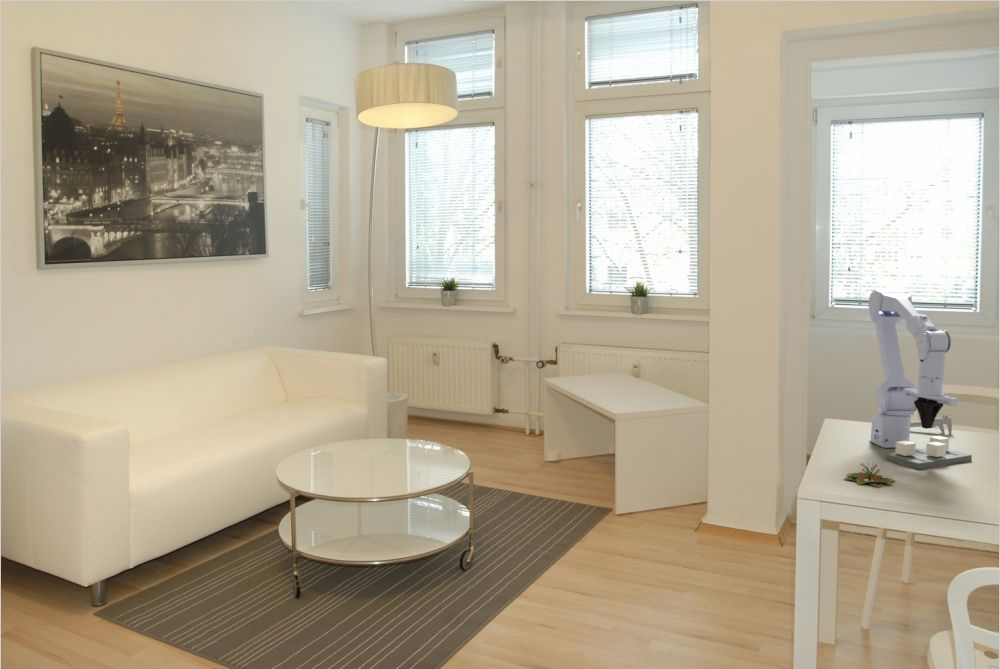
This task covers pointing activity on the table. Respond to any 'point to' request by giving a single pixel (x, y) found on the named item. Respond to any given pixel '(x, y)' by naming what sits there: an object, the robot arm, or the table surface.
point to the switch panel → (928, 459)
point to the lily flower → (869, 477)
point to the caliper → (937, 423)
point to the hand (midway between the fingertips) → (926, 427)
